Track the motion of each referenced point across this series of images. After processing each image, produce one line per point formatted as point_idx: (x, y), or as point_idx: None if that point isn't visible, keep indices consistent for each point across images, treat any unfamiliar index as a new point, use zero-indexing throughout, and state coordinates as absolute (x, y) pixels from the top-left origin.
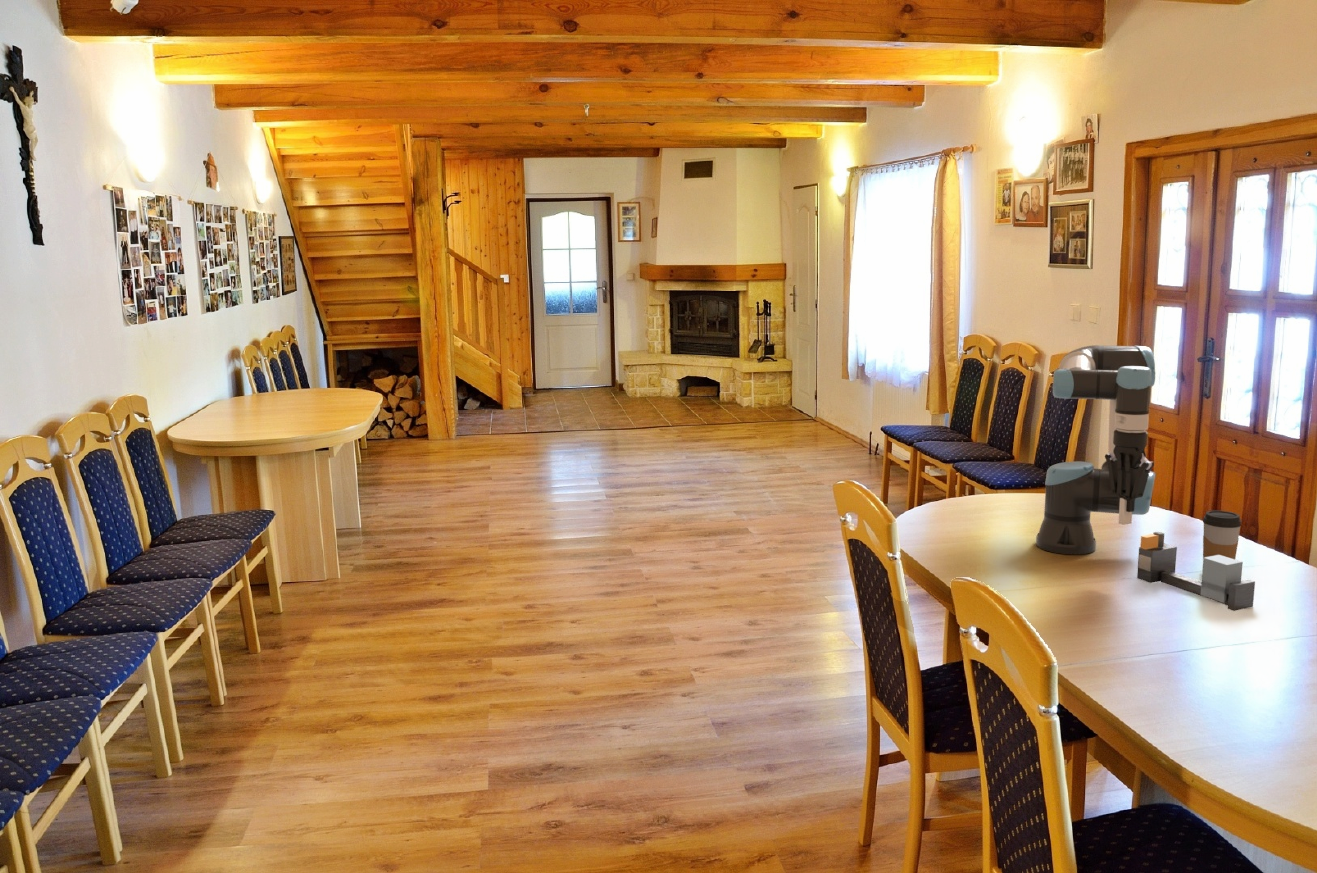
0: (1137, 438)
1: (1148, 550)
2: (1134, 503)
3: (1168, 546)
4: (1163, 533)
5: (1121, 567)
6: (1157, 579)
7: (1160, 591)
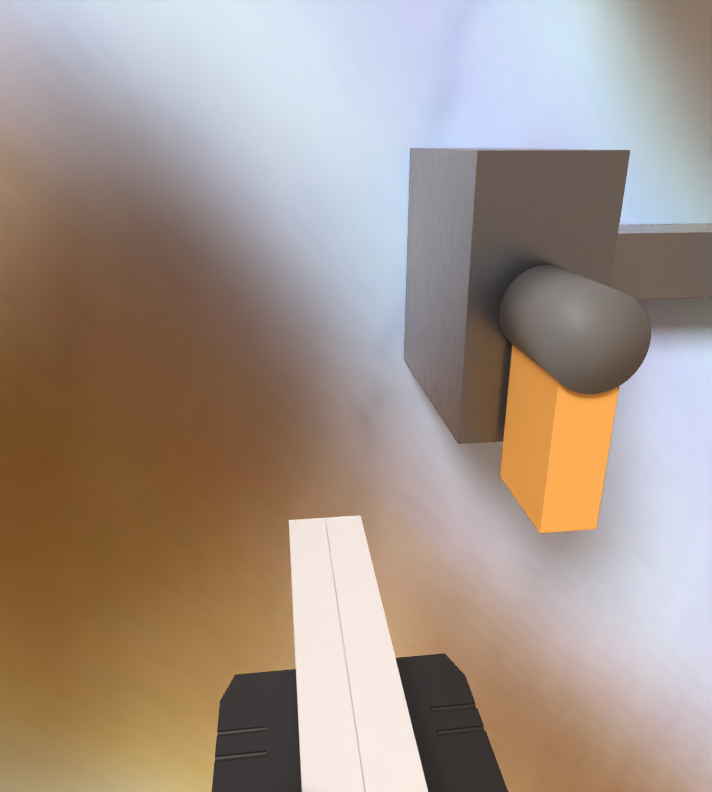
0: None
1: None
2: (496, 768)
3: (577, 207)
4: (629, 305)
5: (197, 279)
6: None
7: None
